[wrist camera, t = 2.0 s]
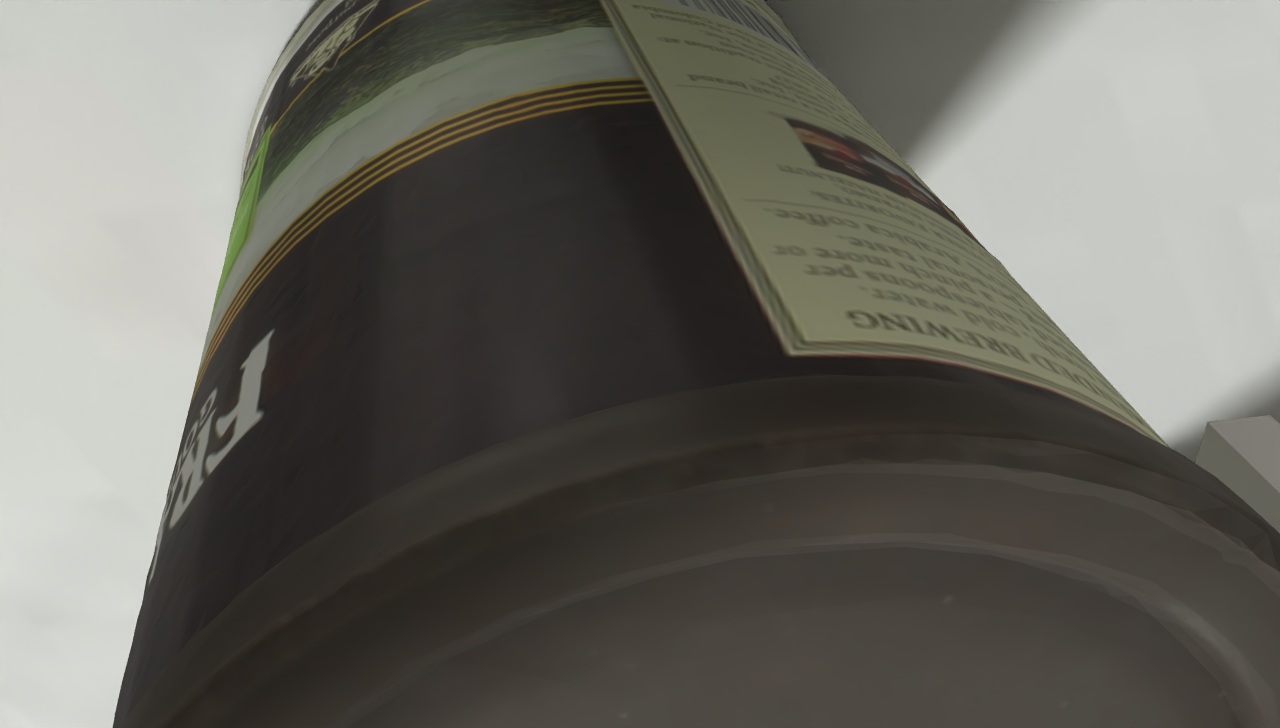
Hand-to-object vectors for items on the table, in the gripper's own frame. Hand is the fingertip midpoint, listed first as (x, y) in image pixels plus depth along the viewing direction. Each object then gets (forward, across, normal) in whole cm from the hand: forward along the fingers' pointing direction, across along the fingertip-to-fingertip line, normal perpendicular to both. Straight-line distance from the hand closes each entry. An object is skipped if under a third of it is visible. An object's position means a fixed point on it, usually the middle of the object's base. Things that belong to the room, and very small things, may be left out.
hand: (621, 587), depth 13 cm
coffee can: (+10, 0, 0) cm, 10 cm away
